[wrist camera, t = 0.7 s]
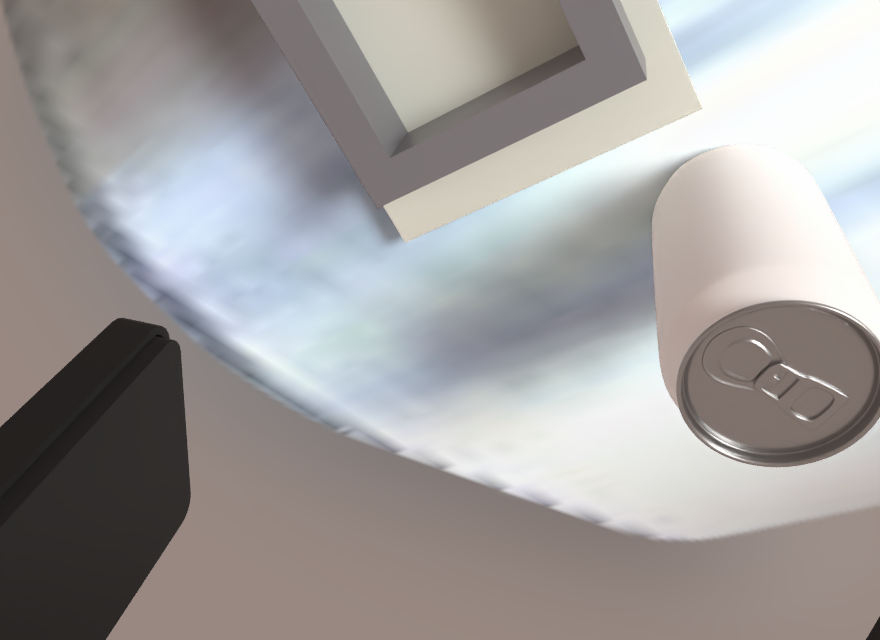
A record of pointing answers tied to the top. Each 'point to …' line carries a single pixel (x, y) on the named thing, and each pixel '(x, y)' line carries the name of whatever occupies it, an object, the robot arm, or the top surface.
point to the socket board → (478, 91)
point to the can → (762, 310)
